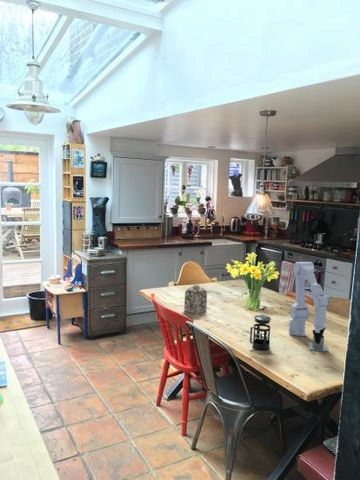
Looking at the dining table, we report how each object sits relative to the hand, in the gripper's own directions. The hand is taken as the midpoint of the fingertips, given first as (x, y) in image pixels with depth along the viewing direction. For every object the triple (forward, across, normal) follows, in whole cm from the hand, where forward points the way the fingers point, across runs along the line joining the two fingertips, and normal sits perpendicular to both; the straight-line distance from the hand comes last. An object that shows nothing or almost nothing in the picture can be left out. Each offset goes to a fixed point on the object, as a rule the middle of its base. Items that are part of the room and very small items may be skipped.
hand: (318, 341), depth 221 cm
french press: (+4, -16, +28) cm, 32 cm away
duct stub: (+4, 0, 0) cm, 4 cm away
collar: (+3, 0, 0) cm, 3 cm away
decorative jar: (+4, +25, +86) cm, 90 cm away
